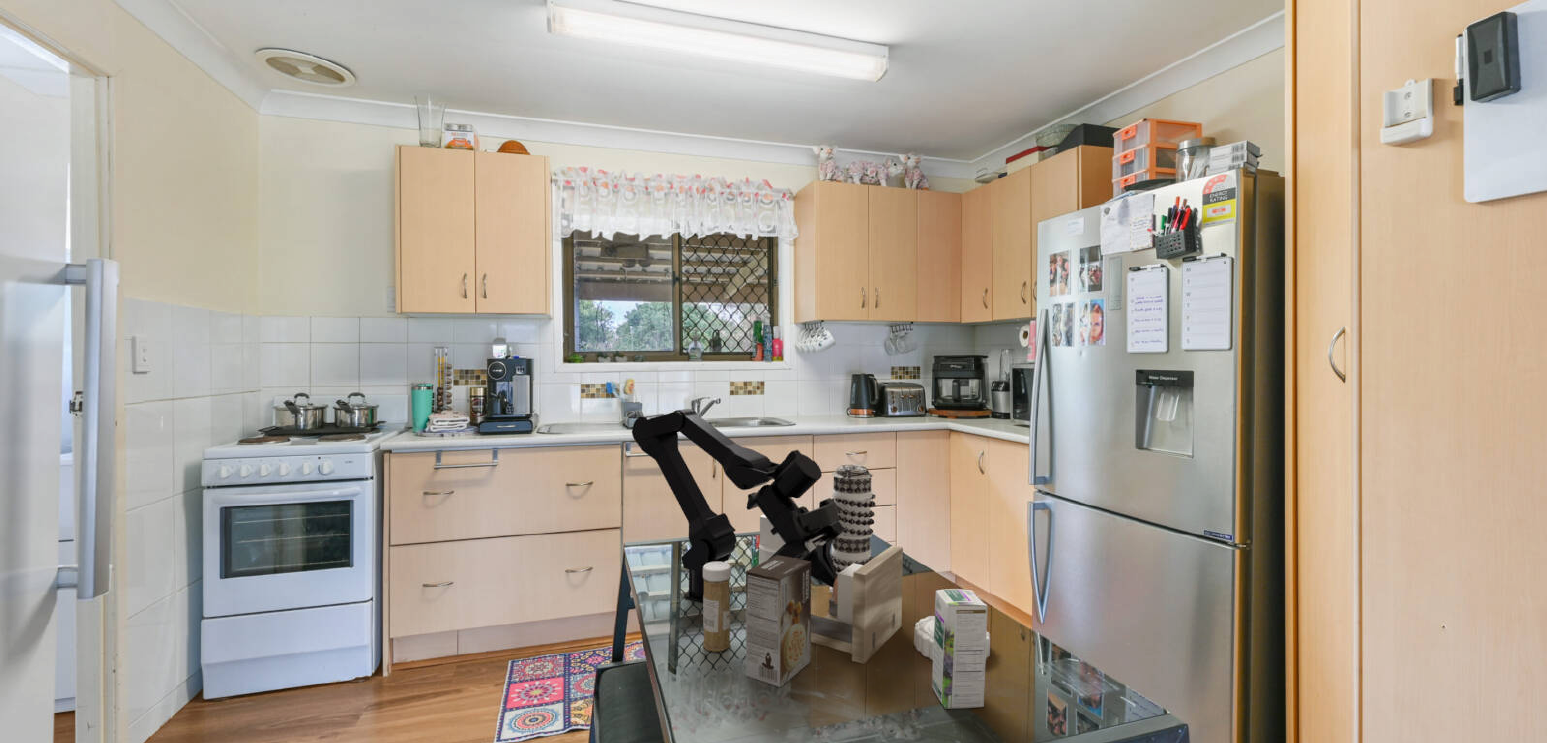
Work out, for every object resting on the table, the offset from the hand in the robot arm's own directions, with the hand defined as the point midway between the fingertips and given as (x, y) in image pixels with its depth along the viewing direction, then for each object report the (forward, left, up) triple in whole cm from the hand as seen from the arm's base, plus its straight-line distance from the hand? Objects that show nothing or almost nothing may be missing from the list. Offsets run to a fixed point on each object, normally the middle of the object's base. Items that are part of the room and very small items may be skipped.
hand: (837, 586), depth 111 cm
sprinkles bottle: (-15, -14, -8) cm, 23 cm away
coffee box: (-3, -16, -8) cm, 18 cm away
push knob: (+3, 0, -6) cm, 7 cm away
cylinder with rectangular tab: (-21, +21, -8) cm, 31 cm away
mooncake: (+19, +4, -8) cm, 21 cm away
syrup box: (+23, -11, -8) cm, 27 cm away
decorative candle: (-4, +19, -8) cm, 21 cm away
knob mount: (+3, 0, -8) cm, 9 cm away
